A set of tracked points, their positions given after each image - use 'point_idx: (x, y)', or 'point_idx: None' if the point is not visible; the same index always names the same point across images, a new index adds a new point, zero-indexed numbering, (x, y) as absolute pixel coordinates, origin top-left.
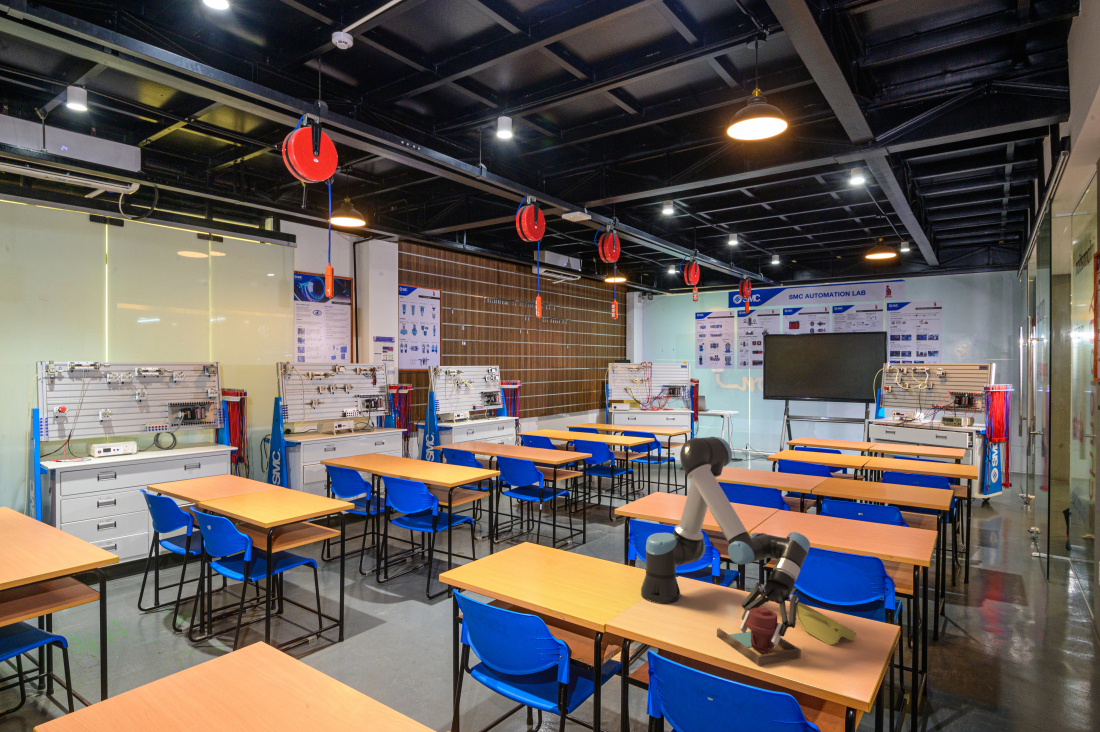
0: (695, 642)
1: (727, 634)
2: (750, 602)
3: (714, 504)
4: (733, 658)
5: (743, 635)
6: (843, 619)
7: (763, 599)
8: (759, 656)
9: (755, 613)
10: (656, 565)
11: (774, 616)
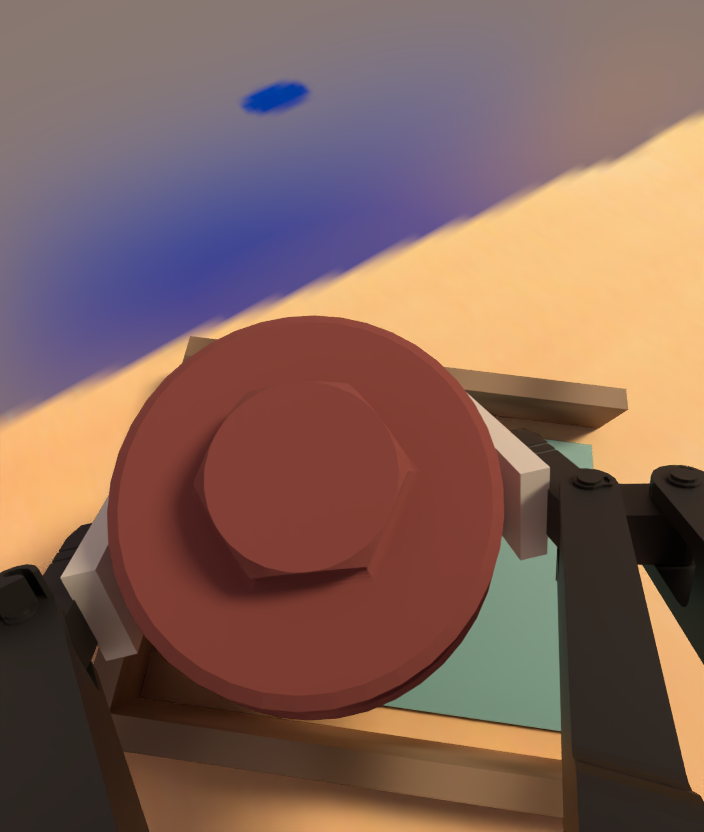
0: (557, 256)
1: (522, 389)
2: (700, 611)
3: None
4: (332, 306)
5: (556, 587)
6: None
7: (568, 764)
8: (193, 349)
9: (334, 363)
10: None
11: (134, 537)
